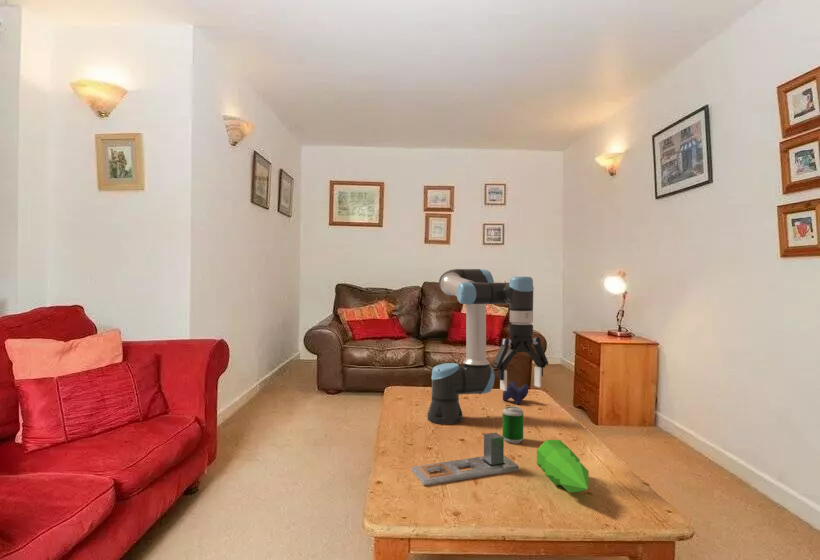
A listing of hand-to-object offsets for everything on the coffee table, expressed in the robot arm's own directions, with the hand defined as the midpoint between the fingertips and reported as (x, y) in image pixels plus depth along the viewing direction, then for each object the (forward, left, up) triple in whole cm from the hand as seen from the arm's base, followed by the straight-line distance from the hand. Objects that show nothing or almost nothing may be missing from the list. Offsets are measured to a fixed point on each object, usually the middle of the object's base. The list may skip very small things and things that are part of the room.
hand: (520, 388), depth 145 cm
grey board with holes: (0, -20, -24) cm, 32 cm away
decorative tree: (+18, +2, -24) cm, 31 cm away
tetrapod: (-63, +40, -25) cm, 78 cm away
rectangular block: (0, -10, -24) cm, 26 cm away
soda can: (-18, +9, -24) cm, 31 cm away
